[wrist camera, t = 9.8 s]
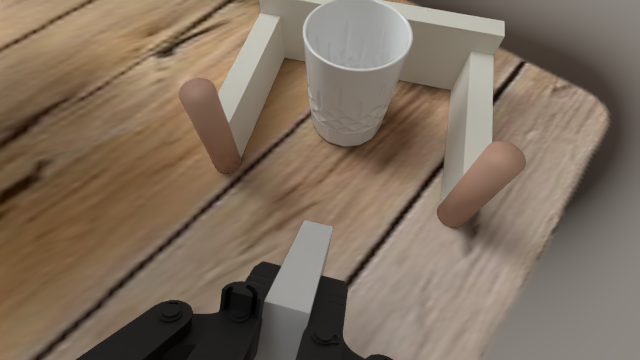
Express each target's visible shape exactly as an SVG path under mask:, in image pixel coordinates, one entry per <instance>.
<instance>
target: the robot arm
mask: <svg viewBox="0 0 640 360" xmlns="http://www.w3.org/2000/svg"><path fill="white" fill-rule="evenodd" d="M332 231H333V227H332V226H328V225H323V224H319V223H315V222H311V221H307V220H304V222H303V224H302V226H301V228H300V230H299V232H298V234H297V236H296V238H295V240H294V242H293V244H292V246H291V248H290V250H289V252H288V254H287V256H286V258H285V260H284V262H283V264H282V266H279V265H275V264H272V263H268V262H264V261H263V262H261V263H260V264H258V265H256V266H255V267H254V268H253V270H252V271H251V273H250V275H249V276H248V278H247V279H246V281H245V282H242V281H240V282H233V283H230V284H228V285H226V286H225V287H224V288H223V289H222V295H221V304H220V310H219V312H217V313H213V314H193V311H192V308H191V306H190V305H188V304H187V303H186V302H182V301H179V300H169V301H165V302H161V303H159V304H157V305H155V306H154V307H152V308H151V309H149V310H148V311H146V312H145V313H143V314H142V315H140V316H139V317H138V318H136V319H135V320H133V321H132V322H130V323H129V324H127V325H126V326H124V327H123V328H121V329H120V330H118V331H117V332H116V333H114V334H113V335H111V336H110V337H108V338H107V339H105V340H104V341H102V342H101V343H99V344H98V345H96V346H95V347H94V348H92V349H91V350H89V351H88V352H86V353H85V354H83V355H82V356H80V357H79V358H77V359H76V360H254V358H255V360H393V359H391V358H389V357H387V356H384V355H380V354H376V355H371V356H369V357H367V358H366V359H364V358H362V357H361V356H359V355H357V354H356V353H354V352H353V351H352V350H351V349H350V348H349V347H348V346H347V345H346V343H345V342H344V339H343V325H344V317H345V309H346V301H347V293H348V289H347V287H346V284H345V282H344V281H341V280H337V279H333V278H330V277H326V276H323V272H324V267H325V263H326V258H327V254H328V249H329V245H330V240H331V236H332Z"/></svg>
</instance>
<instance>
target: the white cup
mask: <svg viewBox="0 0 640 360" xmlns="http://www.w3.org/2000/svg"><path fill="white" fill-rule="evenodd" d="M303 41H304V52H305V63H306V76H307V85H308V95H309V102H310V106H311V119H312V122H313V125H314V127H315V129H316V132H317V133H318V134H319V135H320V136H322V137H323V138H324V139H325V140H326V141H328V142H330V143H333V144H337V145H340V146H356V145H361V144H363V143H364V142H366V141H368V140H370V139H372V138H373V137H374V135H375V134H376V132H377V131H378V130H379V128H380V126H381V123H382V120H383V118H384V115H385V113H386V111H387V109H388V107H389V104H390V101H391V99H392V97H393V94H394V92H395V89H396V86H397V84H398V81H399V78H400V75H401V73H402V70H403V67H404V64H405V62H406V59H407V56H408V53H409V51H410V48H411V45H412V41H413V33H412V29H411V26H410V24H409V22H408V21H407V19H406V18H405V17H404V16H403V15H402V14H401V13H400V12H399V11H398V10H396V9H395V8H393V7H392V6H390V5H388V4H386V3H383V2H381V1H378V0H331V1H328V2H326V3H324V4H322V5H320V6H318V7H317V8H315V9H314V10H313V11H312V12H311V13H310V14H309V15H308V17H307V18H306V20H305V23H304V26H303Z"/></svg>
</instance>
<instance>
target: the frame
mask: <svg viewBox="0 0 640 360" xmlns="http://www.w3.org/2000/svg"><path fill="white" fill-rule="evenodd" d="M328 1H331V0H259V5H260V12H261V13H260V15H259V17H258V19H257V21H256V22H255V24H254V26H253V28H252V30H251V32H250V34H249V36H248V38H247V39H246V41H245V43H244V45H243V47H242V49H241V51H240V53H239V55H238V57H237V58H236V60H235V62H234V64H233V66H232V68H231V70H230V72H229V74H228V75H227V77H226V79H225V81H224V83H223V85H222V87H221V89H220V91H219V93H218V94H217V91H216V88H215V86H214V84H213V83H212V82H211V81H209V80H207V79H202V78H198V79H193V80H190V81H188V82H186V83H185V84H184V85H183V86H182V87H181V88H180V91H179V98H180V100H181V102H182V104H183V106H184V107H185V109H186V111H187V113H188V115H189V117H190V119H191V121H192V123H193V125H194V127H195V129H196V131H197V133H198V135H199V137H200V139H201V141H202V142H203V144H204V146H205V148H206V150H207V152H208V154H209V156H210V158H211V160H212V162H213V164H214V166H215V168H216V169H217V170H218V171H219V172H221V173H232V172H234V171H236V170H237V169H238V168H239V166H240V165H241V157H242V155H243V152H244V150H245V148H246V145H247V143H248V141H249V138H250V136H251V134H252V132H253V129H254V127H255V125H256V122H257V120H258V118H259V115H260V113H261V111H262V108H263V106H264V104H265V101H266V99H267V97H268V95H269V92H270V90H271V88H272V85H273V83H274V81H275V78H276V76H277V74H278V71H279V69H280V67H281V65H282V62H283V60H284V58H289V59H294V60H299V61H304V62H305V52H304V41H303V26H304V23H305V20H306V18H307V17H308V15H309V14H310V13H311V12H312V11H313V10H314V9H315V8H317V7H318V6H320V5H322V4H324V3H326V2H328ZM378 1H381V2H383V3H386V4H388V5H390V6H392V7H393V8H395V9H396V10H398V11H399V12H400V13H401V14H402V15H403V16H404V17H405V18H406V19H407V21H408V22H409V24H410V26H411V29H412V33H413V41H412V45H411V48H410V51H409V53H408V56H407V59H406V62H405V64H404V67H403V70H402V73H401V75H400V78H399V80H401V81H406V82H412V83H417V84H422V85H427V86H432V87H437V88H442V89H447V90H451V95H450V106H449V116H448V127H447V138H446V148H445V159H444V170H443V180H442V191H441V202H440V205H439V207H438V209H437V215H438V218H439V219H440V221H441V222H442V223H443V224H445V225H446V226H448V227H452V228H456V227H460V226H462V225H463V224H464V223H465V222H466V221H467V220H468V219H469V218H471V217H472V216H473V215H474V214H475V213H476V212H477V211H478V210H479V209H480V208H482V207H483V206H484V205H485V204H486V203H487V202H488V201H489V200H490V199H491V198H493V197H494V196H495V195H496V194H497V193H498V192H499V191H500V190H501V189H503V188H504V187H505V186H506V185H507V184H508V183H509V182H510V181H511V180H512V179H514V178H515V177H516V176H517V175H518V174H519V173H520V172H521V171H522V170H523V169H524V167H525V164H526V160H525V157H524V154H523V153H522V151H521V150H520V149H519V148H518V147H516V146H515V145H513V144H511V143H509V142H505V141H495V142H492V116H493V55H494V53H495V52H496V50H497V48H498V47H499V45H500V43H501V42H502V40H503V38H504V37H505V36H504V35H505V33H504V21H499V20H494V19H488V18H482V17H476V16H470V15H465V14H459V13H453V12H447V11H441V10H435V9H429V8H424V7H418V6H412V5H407V4H401V3H395V2H389V1H383V0H378Z"/></svg>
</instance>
